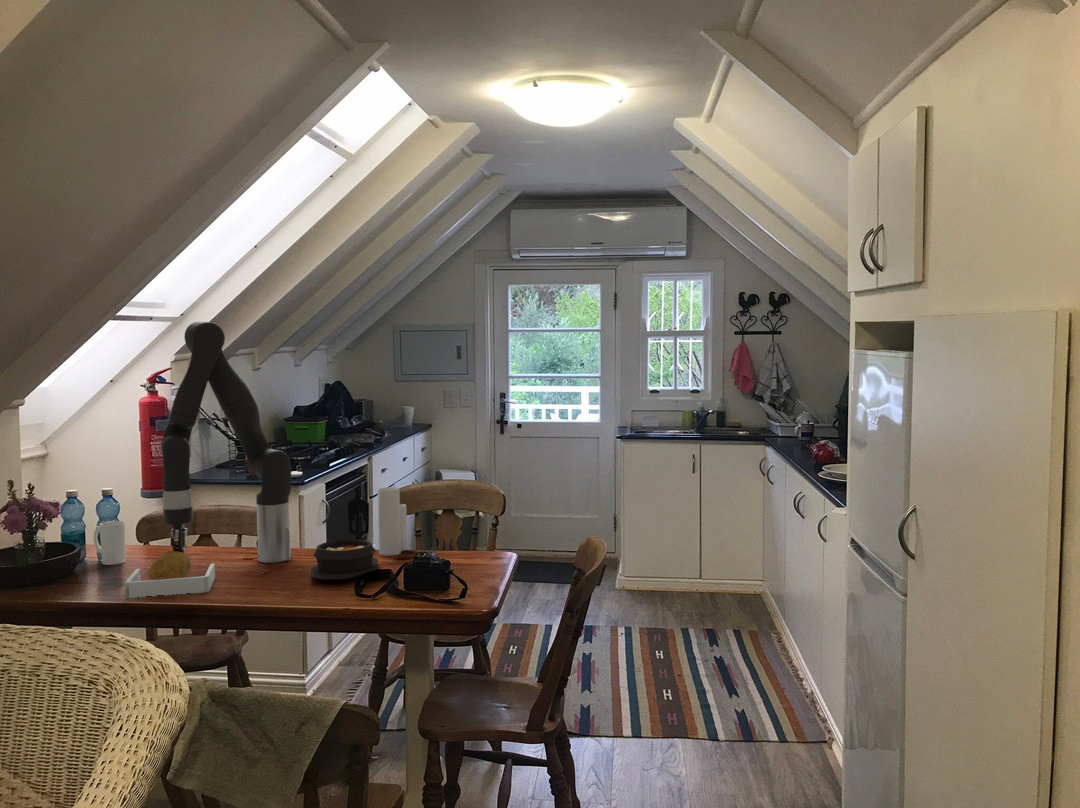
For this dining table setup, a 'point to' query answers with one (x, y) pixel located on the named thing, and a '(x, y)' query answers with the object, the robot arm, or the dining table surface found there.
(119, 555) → the mug
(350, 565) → the casserole
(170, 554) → the potato
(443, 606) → the dining table surface
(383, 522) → the vase
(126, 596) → the bin
